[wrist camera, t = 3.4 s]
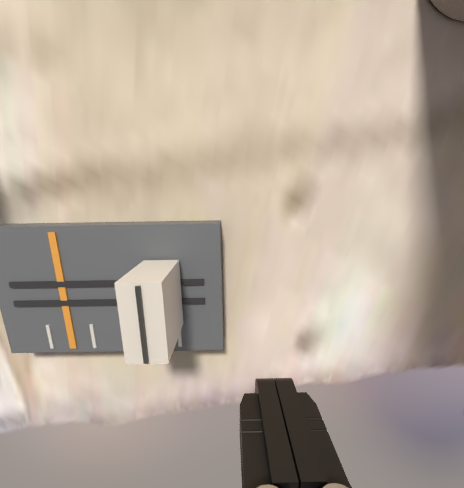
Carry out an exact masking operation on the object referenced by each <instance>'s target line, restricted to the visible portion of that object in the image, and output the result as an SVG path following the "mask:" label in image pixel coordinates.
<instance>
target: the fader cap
mask: <svg viewBox="0 0 464 488" xmlns="http://www.w3.org/2000/svg"><path fill="white" fill-rule="evenodd" d="M114 284H115V292H116V299H117V306H118V314H119V321H120V328H121V336H122V343H123V350H124V358H125V364H169V362H170V359H171V356H172V353H173V351H174V348H175V345H176V343H177V340H178V337H179V334H180V332H181V329H182V326H183V309H182V295H181V280H180V266H179V260H143V261H142V262H141V263H140V264H138V265H137V266H136V267H134V268H133V269H132V270H131V271H129V272H128V273H127V274H125V275H124V276H123V277H121V278H120V279H119V280H118V281H116V282H115V283H114Z"/></svg>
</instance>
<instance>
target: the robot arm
mask: <svg viewBox="0 0 464 488" xmlns="http://www.w3.org/2000/svg"><path fill="white" fill-rule="evenodd" d="M431 2H432V3H433V5H434V6H435V7H436V8H437V9H438V10H439V11H441V12H442V13H443V14H445V15H446V16H448V17H450V18H452V19H455V20H459V21H464V0H431ZM240 449H241V471H242V488H352V487H351V486H350V484H349V482H348V479H347V477H346V475H345V472H344V470H343V467H342V465H341V463H340V460H339V458H338V455H337V453H336V451H335V448H334V446H333V444H332V441H331V439H330V436H329V434H328V432H327V430H326V427H325V424H324V422H323V420H322V417H321V415H320V412H319V410H318V407H317V405H316V403H315V402H314V401H313V400H312V399H311V398H310V396H309V395H308V394H307V393H297V392H296V388H295V385H294V383H293V380H292V378H274V379H273V378H272V379H256V382H255V393H249V394H244V396H243V399H242V401H241V404H240Z"/></svg>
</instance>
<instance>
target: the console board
mask: <svg viewBox="0 0 464 488" xmlns="http://www.w3.org/2000/svg"><path fill="white" fill-rule="evenodd" d="M143 260H179V266H180V280H181V295H182V309H183V326H182V329H181V332H180V334H179V337H178V340H177V343H176V345H175V348H174V351H179V350H223V343H224V325H223V287H222V250H221V221H161V222H99V223H37V224H0V309H1V313H2V317H3V321H4V324H5V328H6V332H7V336H8V340H9V344H10V348H11V352H12V353H45V352H112V351H124V350H123V343H122V336H121V328H120V321H119V314H118V306H117V299H116V292H115V284H114V283H115V282H116V281H118V280H119V279H120V278H121V277H123V276H124V275H125V274H127V273H128V272H129V271H131V270H132V269H133V268H134V267H136V266H137V265H138V264H140V263H141V262H142V261H143Z"/></svg>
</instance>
